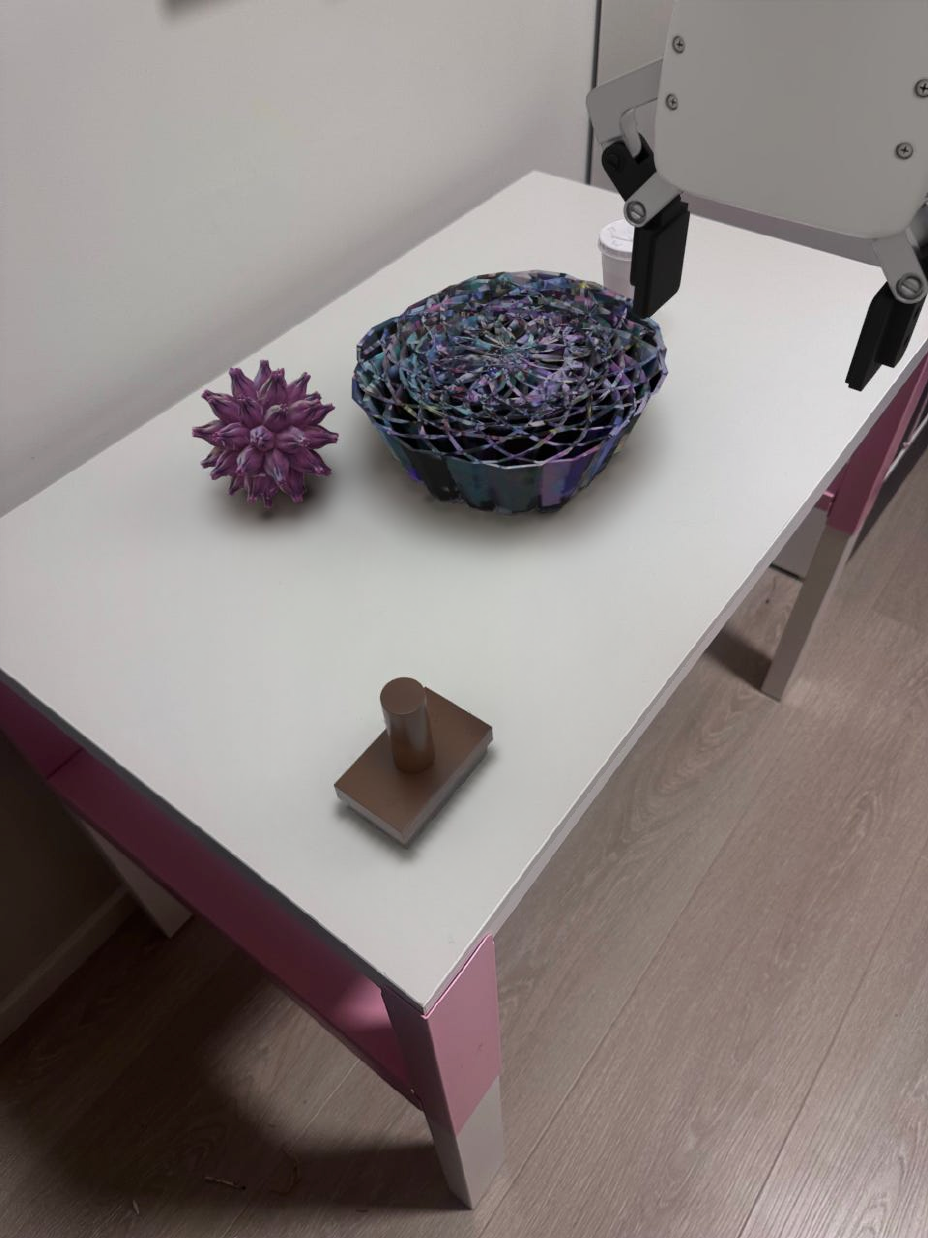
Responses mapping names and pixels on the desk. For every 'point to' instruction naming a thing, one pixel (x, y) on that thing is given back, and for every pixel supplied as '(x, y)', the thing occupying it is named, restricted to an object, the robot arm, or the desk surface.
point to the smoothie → (617, 256)
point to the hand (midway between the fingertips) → (755, 336)
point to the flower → (266, 434)
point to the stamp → (413, 760)
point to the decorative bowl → (509, 387)
